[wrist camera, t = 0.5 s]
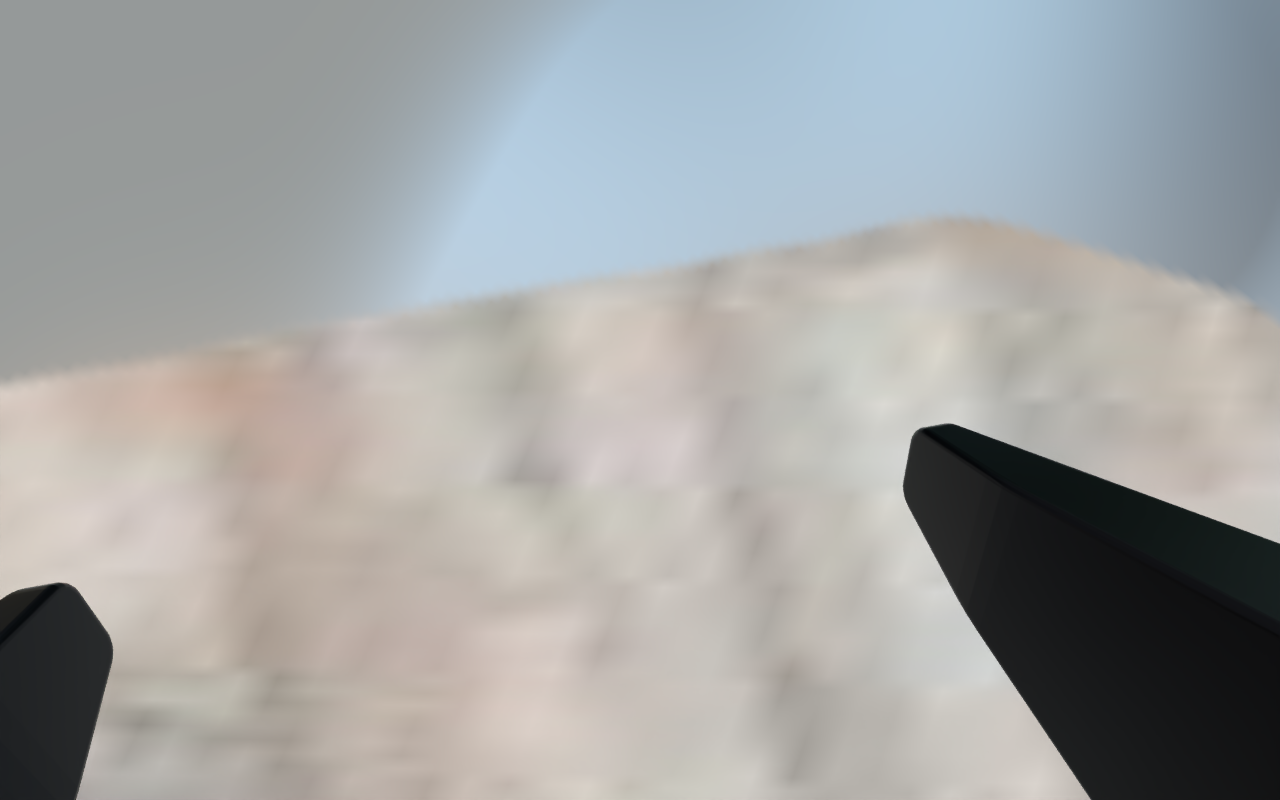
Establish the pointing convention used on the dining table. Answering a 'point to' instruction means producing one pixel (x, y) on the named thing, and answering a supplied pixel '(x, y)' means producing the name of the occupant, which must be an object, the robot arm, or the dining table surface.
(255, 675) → the dining table surface
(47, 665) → the robot arm
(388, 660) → the dining table surface
